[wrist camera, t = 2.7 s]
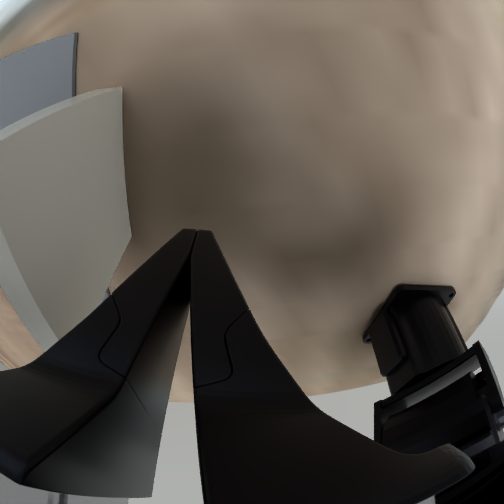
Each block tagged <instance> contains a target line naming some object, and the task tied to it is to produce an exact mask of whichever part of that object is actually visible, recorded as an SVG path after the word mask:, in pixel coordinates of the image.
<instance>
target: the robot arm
mask: <svg viewBox="0 0 504 504" xmlns="http://www.w3.org/2000/svg"><path fill="white" fill-rule="evenodd" d="M455 294H456V291H455V289H454V288H453V287H432V286H409V285H401V286H398V287H397V288H396V289H395V290H394V291H393V293H392V295H391V296H390V298H389V299H388V301H387V302H386V304H385V305H384V307H383V308H382V310H381V311H380V313H379V314H378V316H377V317H376V319H375V320H374V321H373V323H372V324H371V326H370V327H369V329H368V330H367V331H366V333H365V334H364V335H363V337H362V338H363V342H364V343H372V346H373V349H374V352H375V355H376V359H377V362H378V366H379V369H380V373H381V375H382V376H383V377H385V376H386V378H387V382H388V385H389V389H390V392H391V396H390V397H388V398H386V399H384V400H379V401H377V402H375V403H374V440H371V439H369V438H368V437H366V436H364V435H362V434H360V433H358V432H357V431H355V430H353V429H351V428H349V427H348V426H346V425H344V424H342V423H341V422H339V421H337V420H335V419H334V418H332V417H330V416H329V415H327V414H325V413H324V412H323V411H321V410H320V409H319V408H318V407H316V406H315V405H314V404H313V403H312V402H311V401H310V400H309V398H308V397H307V396H306V395H305V393H304V392H303V391H302V390H301V388H300V387H299V385H298V384H297V383H296V381H295V380H294V379H293V377H292V376H291V375H290V373H289V372H288V370H287V369H286V368H285V366H284V365H283V364H282V362H281V361H280V359H279V358H278V357H277V355H276V354H275V352H274V351H273V349H272V348H271V346H270V345H269V343H268V342H267V340H266V339H265V337H264V335H263V334H262V332H261V330H260V328H259V326H258V325H257V323H256V321H255V319H254V317H253V315H252V313H251V311H250V310H249V307H248V305H247V303H246V301H245V299H244V297H243V295H242V293H241V291H240V289H239V287H238V285H237V283H236V281H235V279H234V277H233V275H232V273H231V270H230V268H229V266H228V264H227V262H226V260H225V258H224V256H223V254H222V252H221V250H220V248H219V245H218V243H217V241H216V239H215V237H214V235H213V233H212V231H207V230H198V231H197V230H195V229H186V228H184V229H182V230H181V231H180V232H179V233H177V234H176V235H175V236H174V237H173V238H172V239H170V240H169V241H168V242H167V243H166V244H165V245H164V246H162V247H161V248H160V249H159V250H158V251H157V252H156V253H155V254H153V255H152V256H151V257H150V258H149V259H148V260H147V261H146V262H145V263H143V264H142V265H141V266H140V267H139V268H138V269H137V270H136V271H135V272H134V273H133V274H131V275H130V276H129V277H128V278H127V279H126V280H125V281H124V282H123V283H122V284H121V285H120V286H119V287H118V288H117V289H116V290H115V291H113V292H112V295H109V296H108V297H107V298H106V299H105V300H104V301H103V302H102V303H101V304H100V305H99V306H98V307H97V308H96V309H94V310H93V311H92V312H91V313H90V314H89V315H88V316H87V317H86V318H85V319H83V320H82V321H81V322H80V323H79V324H78V325H76V326H75V327H74V328H73V329H72V330H70V331H69V332H68V333H67V334H66V335H64V336H63V337H62V338H61V339H60V340H58V341H57V342H56V343H55V344H54V345H53V346H51V347H50V348H49V349H48V350H47V351H46V352H44V353H43V354H42V355H41V356H40V357H38V358H37V359H36V360H34V361H33V362H31V363H29V364H27V365H25V366H22V367H20V368H15V369H10V370H5V371H0V504H128V498H145V497H152V490H153V483H154V477H155V470H156V464H157V458H158V452H159V447H160V441H161V436H162V435H161V433H162V430H163V424H164V419H165V414H166V408H167V404H168V399H169V394H170V390H171V385H172V380H173V376H174V371H175V366H176V362H177V358H178V353H179V349H180V345H181V340H182V336H183V332H184V328H185V324H186V320H187V316H188V312H189V307H190V322H191V353H192V374H193V389H194V405H195V419H196V433H197V444H198V457H199V467H200V476H201V485H202V493H203V501H204V504H504V432H503V428H504V398H503V395H502V392H501V388H500V386H499V382H498V379H497V376H496V374H495V371H494V369H493V367H492V364H491V362H490V360H489V357H488V355H487V353H486V351H485V350H484V348H483V347H482V345H481V343H480V342H479V341H477V342H476V343H475V344H473V345H472V347H471V348H470V349H467V346H466V344H465V342H464V340H463V338H462V335H461V333H460V331H459V329H458V327H457V325H456V323H455V321H454V319H453V317H452V315H451V313H450V311H449V309H448V307H447V305H448V304H449V303H450V301H451V300H452V299H453V297H454V296H455ZM479 367H481V369H482V371H481V372H479V373H478V374H476V375H474V373H473V372H474V371H475V370H477V369H478V368H479Z"/></svg>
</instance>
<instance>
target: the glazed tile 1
mask: <svg viewBox="0 0 504 504" xmlns="http://www.w3.org/2000/svg"><path fill="white" fill-rule="evenodd" d="M122 92H123V87H114V88H104V89H95V90H92V91H89V92H86V93H83V94H80V95H77V96H74V97H72V98H69V99H66V100H64V101H61V102H59V103H56V104H54V105H51V106H49V107H47V108H44V109H42V110H40V111H37V112H35V113H33V114H31V115H29V116H27V117H25V118H23V119H21V120H19V121H17V122H15V123H13V124H11V125H9V126H7V127H5V128H3V129H2V130H0V286H1V288H2V289H3V291H4V293H5V295H6V296H7V298H8V300H9V301H10V303H11V305H12V306H13V308H14V309H15V311H16V313H17V314H18V316H19V317H20V319H21V320H22V322H23V323H24V325H25V326H26V328H27V329H28V330H29V332H30V333H31V335H32V336H33V337H34V339H35V340H36V342H37V343H38V344H39V346H40V347H41V348H42V349H43V351H44V352H46V351H47V350H48V349H49V348H50V347H51V346H53V345H54V344H55V343H56V342H57V341H58V340H60V339H61V338H62V337H63V336H64V335H66V334H67V333H68V332H69V331H70V330H72V329H73V328H74V327H75V326H76V325H78V324H79V323H80V322H81V321H82V320H83V319H85V318H86V317H87V316H88V315H89V314H90V313H91V312H92V311H93V310H94V309H96V308H97V307H98V306H99V305H100V304H101V302H102V300H103V297H104V295H105V293H106V290H107V288H108V286H109V284H110V281H111V279H112V277H113V275H114V272H115V270H116V268H117V266H118V264H119V262H120V260H121V258H122V255H123V253H124V251H125V249H126V247H127V245H128V243H129V241H130V239H131V237H132V235H131V228H130V220H129V212H128V204H127V194H126V183H125V171H124V155H123V130H122Z"/></svg>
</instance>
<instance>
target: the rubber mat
mask: <svg viewBox="0 0 504 504" xmlns="http://www.w3.org/2000/svg"><path fill="white" fill-rule="evenodd" d="M77 37H78V33H72V34H68V35H64V36H61V37H58V38H54V39H51V40H48V41H45V42H42V43H39V44H36V45H34V46H31V47H28V48H26V49H23V50H21V51H18V52H16V53H14V54H11V55H9V56H7V57H5V58H2V59H0V130H2V129H3V128H5V127H7V126H9V125H11V124H13V123H15V122H17V121H19V120H21V119H23V118H25V117H27V116H29V115H31V114H33V113H35V112H37V111H40V110H42V109H44V108H47V107H49V106H51V105H54V104H56V103H59V102H61V101H64V100H66V99H69V98H72V97H74V96H75V72H76V50H77ZM109 295H110V294H109V290H108V288H107V290H106V293H105V295H104V297H103V300H102V302H103V301H104V300H105V299H106V298H107V297H108V296H109ZM102 302H101V303H102Z"/></svg>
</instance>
